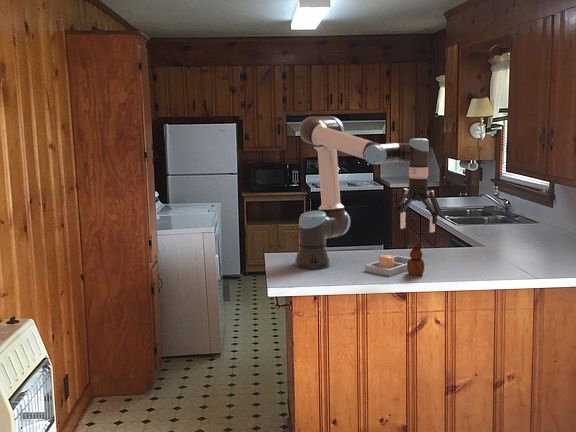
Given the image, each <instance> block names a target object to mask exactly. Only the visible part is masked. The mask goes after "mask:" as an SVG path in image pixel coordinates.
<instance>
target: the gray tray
mask: <svg viewBox="0 0 576 432" xmlns="http://www.w3.org/2000/svg"><path fill="white" fill-rule="evenodd" d="M393 256H394V268H391V269H387V268H382V267H378V262H379V260H377V261H374V262H371V263H367V264H364V266H365V268H364V269H365V272H368V273H373V274H378V275H383V276H388V277H391V276H396V275H398V274H400V273H404V272H406V271H407V272H408V269H407V263H408V260H409V259H411V257H408V256H402V255H393Z"/></svg>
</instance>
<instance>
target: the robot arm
mask: <svg viewBox="0 0 576 432" xmlns="http://www.w3.org/2000/svg"><path fill="white" fill-rule="evenodd" d="M298 132H299V134H298V135H299V136H300V138H301V140H302V141H303V142H305V143H307V144H311V145H313V149H315V150H316V152H317V159H318V160H317V163H318V172H319V173H318V175H319V187H320V188H319V189H320V199H321V201H320V202H321V203H320V204H321V205H320V206H319V207H318V210H309V211H306V212H303V213H301V214H300V216H299V222H298V230H299V231H298V233H299V234H298V240H299V241H298V242H299V243H298V247H299V248H298V251H297V255H296V258H295V262H294V264H295V267H296V268H300V269H305V270H306V269H307V270H319V269H320V270H321V269H325V268H328V267H330V263H331V261H330V258H329V255H328V250H327V239H331V238H339V237H341V236H343V235H345V234H346V233H348V231H349V229H350V227H351V216H350V215H349V214H348V212H347V211H345V206H344V205H343V204H342V203H341V192H340V190H341V189H340V177H339V164H338V163H339V162H338V151H339V152H342V153H345V154H347V155H348V154H349V155H351V156H354V157H357V158H359V159H360V158H361V159H362V160H363V159H364V160H365V161H366V162H367V163H368V164H370V165H382V164H389V163H400V162H401V163H408V177H409V179H408V188H406V187H404V188H402V189H401V194H400V196H399V198H398V200H397V203H396V204H395V207H394V211H396V212H398V220H399V221H400V223H399V225H400V229H401V230H402V229H406V221H407V220H406V215H407V214H406V209H407V208H408V206H410V204H411V203H412V202H415V201H417V202H421V203H423V204H424V206H425V207H426V208H427V211H428V212H429V213H430V215H431V216H429V233H434V232H436V225H437V224H438V216H439V215H440V216H441V215H442V214H443V211H442V209H441V208H440V207H441V206H440V205H439V202H438V199H437V197H436V191H435V190H428V188H429V179H428V177H429V154H430V153H429V151H430V148H429V147H430V146H429V140H428V139H427V138H411V139H409V143H408V142H407V143H405V142H403V143H402V142H401V143H400V142H387V143H377V142H374V141H371V140H368V139H365V138H363V137H358V136H356V135H352V134H349V133H345V128H344V124H343V123H342V122H341V120H340V119H339V118H337V117H335V116H331V115H322V116H320V115H319V116H308V117H306V118H304V119H303V120H302V121H301V123H300V125H299V129H298ZM408 194H409V195H408ZM407 196H408V197H407ZM428 196H429V197H428ZM406 198H407V199H406ZM405 200H406V201H405Z"/></svg>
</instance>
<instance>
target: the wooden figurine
mask: <svg viewBox="0 0 576 432" xmlns="http://www.w3.org/2000/svg"><path fill="white" fill-rule="evenodd" d="M409 258H411V259H409V260H408V263H407V269H408V270H407V273H408V276H411V277H420V276H423V274H424V272H425V261H424V260H423V259H422V258H423V251H422V240H419V242H418V241H416V244H414V246H413V247H412V249H411V251H409Z"/></svg>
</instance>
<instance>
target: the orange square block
mask: <svg viewBox="0 0 576 432" xmlns="http://www.w3.org/2000/svg"><path fill="white" fill-rule="evenodd" d="M394 256H395V255H392V254H381V255H378V261H379V262H378V267H382V268H387V269H391V268H394Z"/></svg>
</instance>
